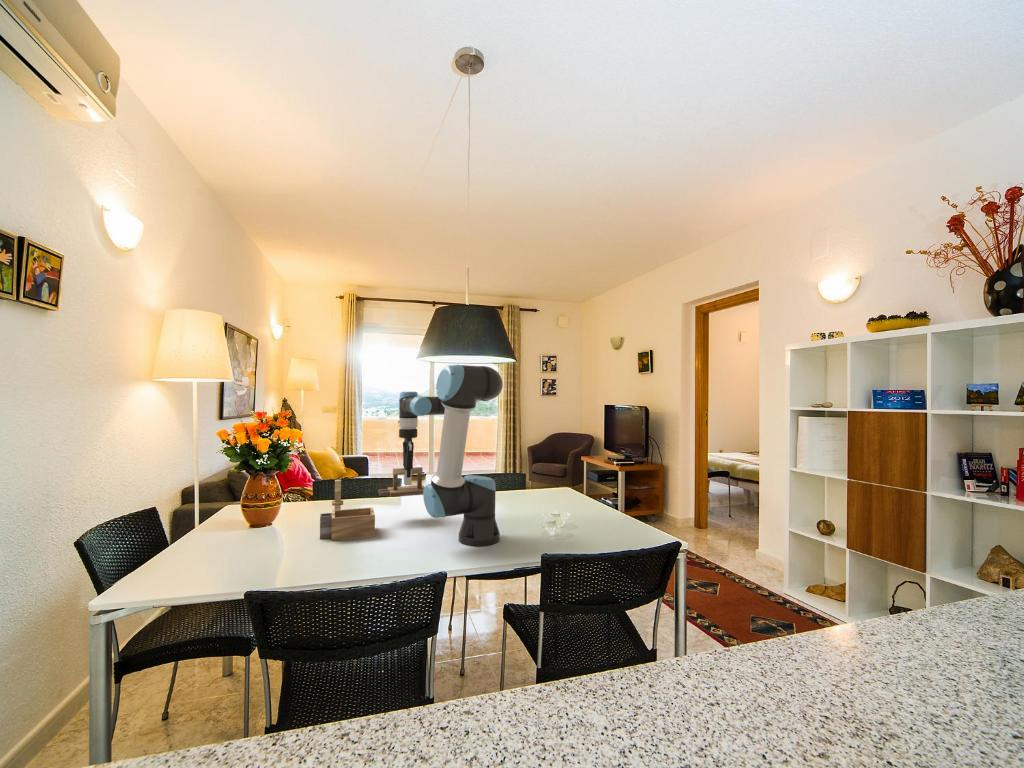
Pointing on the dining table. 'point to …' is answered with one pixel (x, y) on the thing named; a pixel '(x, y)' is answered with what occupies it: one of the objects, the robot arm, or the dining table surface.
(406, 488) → the lid
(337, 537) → the toolbox
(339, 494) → the key peg
